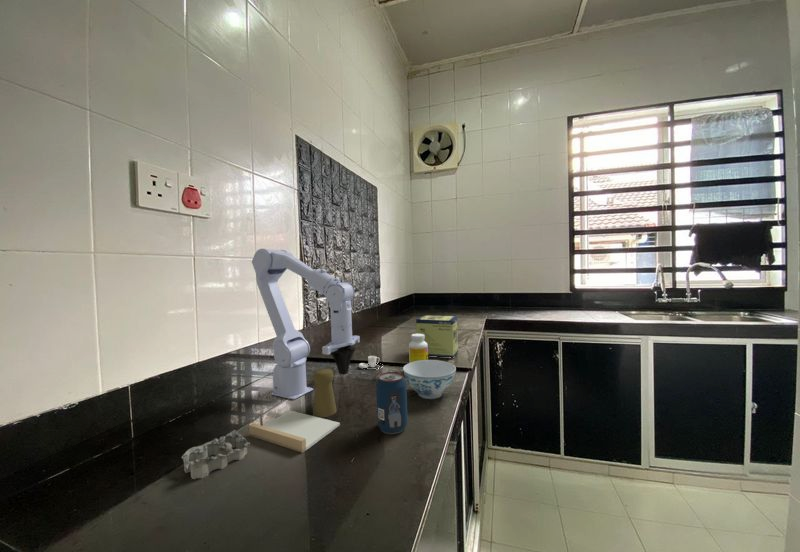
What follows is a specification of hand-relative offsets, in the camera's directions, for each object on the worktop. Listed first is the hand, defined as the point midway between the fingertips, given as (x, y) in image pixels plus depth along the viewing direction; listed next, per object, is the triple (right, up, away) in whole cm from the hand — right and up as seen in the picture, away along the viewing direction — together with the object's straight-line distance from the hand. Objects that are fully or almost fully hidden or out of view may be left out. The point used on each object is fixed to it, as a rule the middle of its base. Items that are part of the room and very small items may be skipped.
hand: (343, 373), depth 88 cm
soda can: (+14, -8, -16) cm, 23 cm away
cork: (-3, -8, -7) cm, 11 cm away
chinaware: (+25, -7, +2) cm, 26 cm away
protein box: (+32, -6, +42) cm, 53 cm away
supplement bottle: (+23, -6, +22) cm, 32 cm away
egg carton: (-20, -9, -27) cm, 35 cm away
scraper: (-8, -8, -16) cm, 20 cm away
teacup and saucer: (+3, -7, +31) cm, 32 cm away
